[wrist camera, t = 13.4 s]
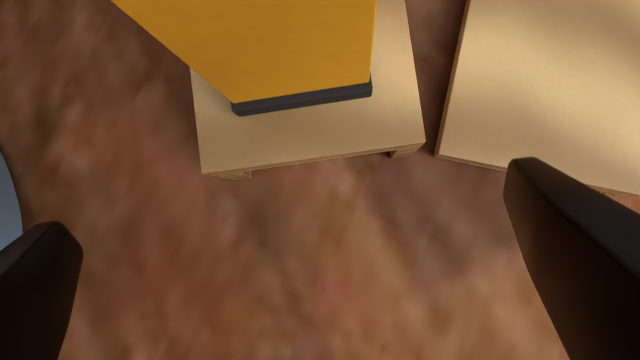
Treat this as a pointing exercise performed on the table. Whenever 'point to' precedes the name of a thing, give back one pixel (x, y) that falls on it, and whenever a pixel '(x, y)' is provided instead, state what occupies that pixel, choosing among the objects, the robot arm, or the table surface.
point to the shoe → (8, 208)
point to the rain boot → (268, 47)
